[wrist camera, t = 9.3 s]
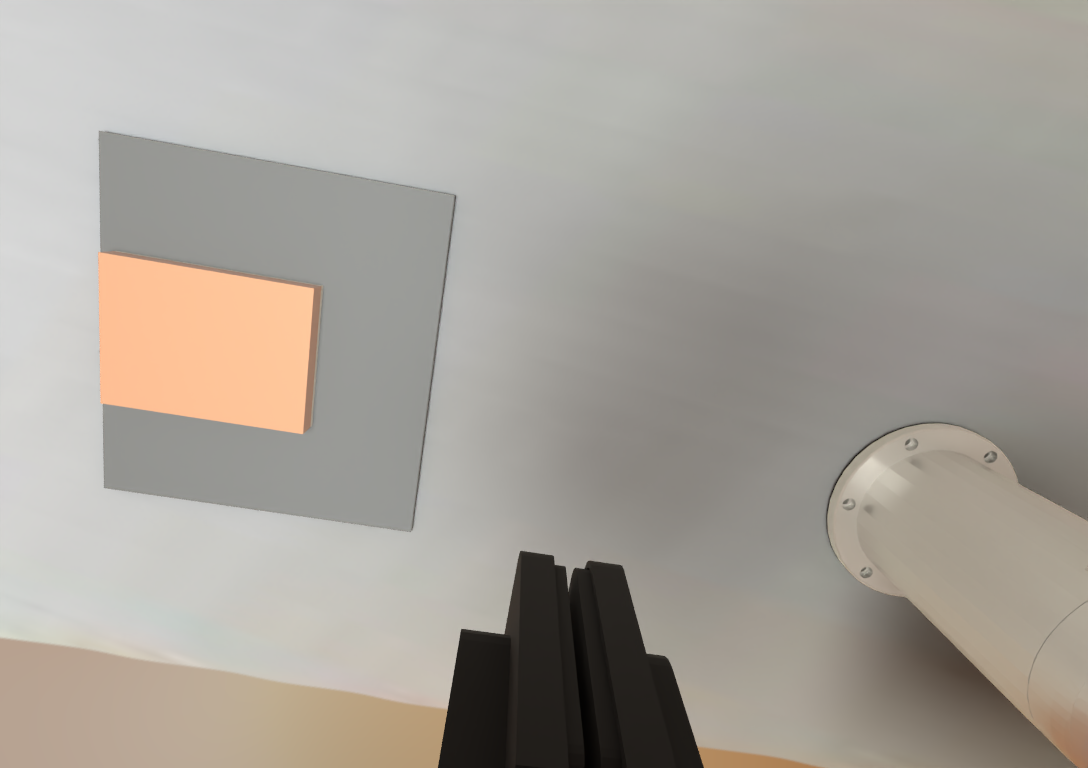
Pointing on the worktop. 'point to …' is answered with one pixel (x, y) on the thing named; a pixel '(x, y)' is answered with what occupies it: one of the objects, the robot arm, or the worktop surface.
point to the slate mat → (344, 339)
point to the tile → (207, 342)
